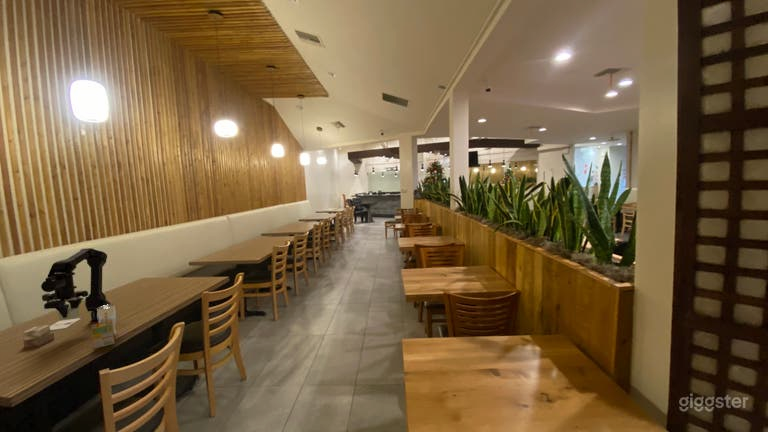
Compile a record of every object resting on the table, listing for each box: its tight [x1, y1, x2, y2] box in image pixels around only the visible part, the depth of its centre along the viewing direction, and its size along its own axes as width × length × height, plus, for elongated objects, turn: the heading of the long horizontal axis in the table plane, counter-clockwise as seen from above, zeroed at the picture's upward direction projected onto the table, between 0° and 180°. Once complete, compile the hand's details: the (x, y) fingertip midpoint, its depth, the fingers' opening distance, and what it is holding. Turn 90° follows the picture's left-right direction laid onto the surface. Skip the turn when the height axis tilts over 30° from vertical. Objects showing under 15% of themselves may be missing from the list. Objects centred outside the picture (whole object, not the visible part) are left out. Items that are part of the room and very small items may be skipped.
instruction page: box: [50, 317, 82, 331], centre depth 171 cm, size 10×14×1 cm
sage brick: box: [58, 307, 80, 321], centre depth 154 cm, size 5×5×4 cm
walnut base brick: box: [23, 332, 55, 348], centre depth 150 cm, size 7×7×4 cm
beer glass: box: [97, 303, 118, 336], centre depth 156 cm, size 7×7×15 cm
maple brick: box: [23, 324, 52, 340], centre depth 149 cm, size 6×6×4 cm
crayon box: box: [91, 321, 116, 350], centre depth 145 cm, size 7×3×12 cm, turn 129°
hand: (69, 315), depth 155 cm, fingers closed on sage brick, 5 cm apart
